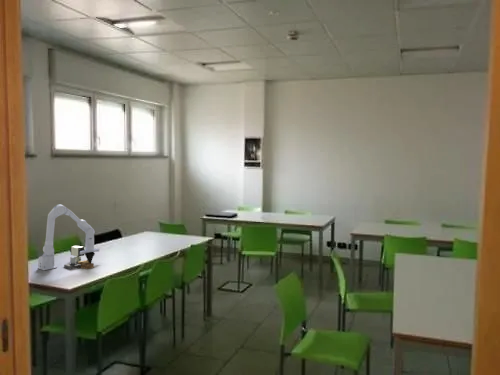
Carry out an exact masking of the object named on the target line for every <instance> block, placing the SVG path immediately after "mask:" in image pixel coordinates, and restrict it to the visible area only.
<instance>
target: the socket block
mask: <svg viewBox="0 0 500 375" xmlns="http://www.w3.org/2000/svg"><path fill="white" fill-rule="evenodd" d="M63 268H65V269H67V270H76V269H80V268H81V264H78V262H75V265H72V266H71V265H70V263H66V264H63ZM81 269H82V268H81Z"/></svg>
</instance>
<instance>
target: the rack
mask: <svg viewBox="0 0 500 375" xmlns="http://www.w3.org/2000/svg"><path fill="white" fill-rule="evenodd" d="M93 268H95V264H94V263H93V262H91V263H83V264H81V269H84V270H88V269H93Z"/></svg>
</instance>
